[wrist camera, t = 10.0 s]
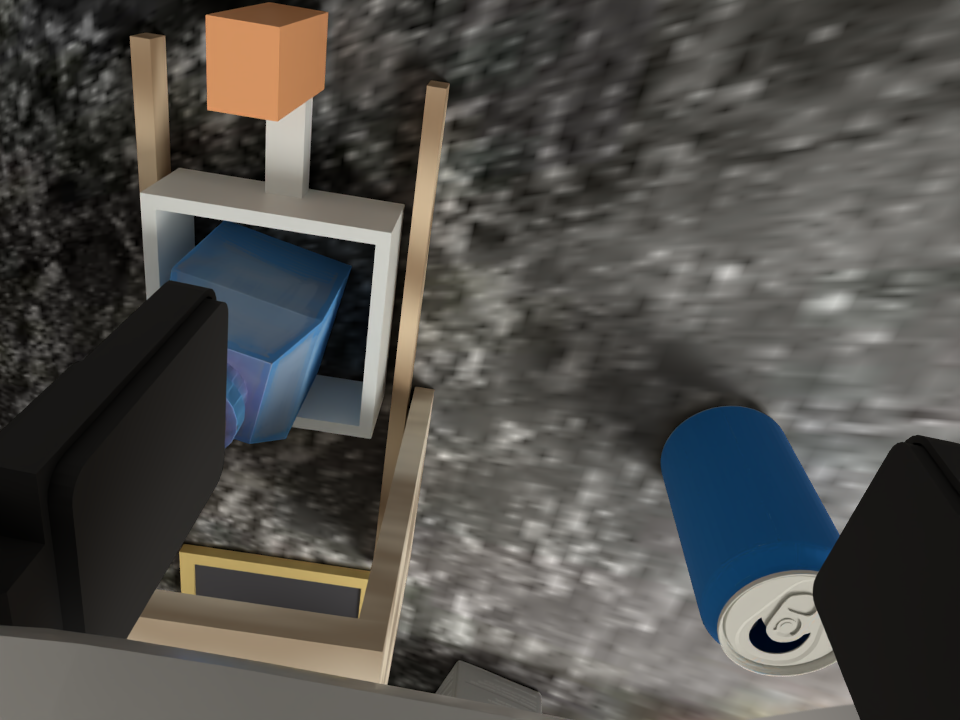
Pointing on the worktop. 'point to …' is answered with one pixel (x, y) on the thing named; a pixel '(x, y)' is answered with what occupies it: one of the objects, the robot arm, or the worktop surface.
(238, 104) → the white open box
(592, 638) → the worktop surface
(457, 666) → the skincare box
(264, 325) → the perfume bottle
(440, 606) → the worktop surface
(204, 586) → the yellow framed grey pad
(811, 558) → the beverage can
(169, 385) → the robot arm
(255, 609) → the tunnel
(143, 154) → the track
